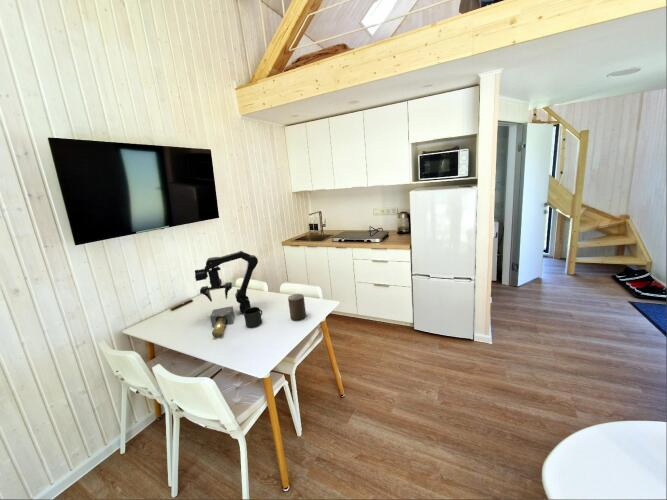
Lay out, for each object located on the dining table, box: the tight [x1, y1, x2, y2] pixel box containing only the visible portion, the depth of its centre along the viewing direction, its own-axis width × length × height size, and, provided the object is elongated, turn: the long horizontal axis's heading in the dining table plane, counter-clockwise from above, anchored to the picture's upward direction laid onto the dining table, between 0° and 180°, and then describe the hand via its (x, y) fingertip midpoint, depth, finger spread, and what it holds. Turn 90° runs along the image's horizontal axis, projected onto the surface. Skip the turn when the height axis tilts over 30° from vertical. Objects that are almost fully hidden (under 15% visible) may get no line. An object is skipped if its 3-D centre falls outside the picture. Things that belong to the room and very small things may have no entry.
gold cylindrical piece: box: [211, 318, 226, 339], centre depth 158 cm, size 14×6×6 cm, turn 13°
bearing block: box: [209, 306, 236, 329], centre depth 170 cm, size 10×12×8 cm
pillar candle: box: [287, 293, 307, 322], centre depth 167 cm, size 10×10×15 cm
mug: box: [243, 306, 263, 329], centre depth 165 cm, size 9×12×9 cm
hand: (219, 300), depth 175 cm, fingers open, 9 cm apart
